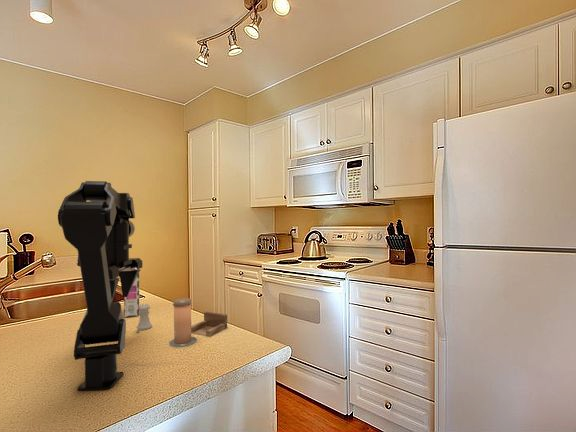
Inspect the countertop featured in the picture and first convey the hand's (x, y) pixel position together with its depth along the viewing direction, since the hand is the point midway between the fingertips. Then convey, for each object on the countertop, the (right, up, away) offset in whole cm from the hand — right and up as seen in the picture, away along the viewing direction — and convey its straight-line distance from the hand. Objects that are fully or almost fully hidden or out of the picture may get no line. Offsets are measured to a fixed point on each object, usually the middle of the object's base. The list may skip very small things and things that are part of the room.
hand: (117, 301), depth 84 cm
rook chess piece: (0, -13, +15) cm, 20 cm away
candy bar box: (-13, -14, +34) cm, 39 cm away
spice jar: (+16, -12, +3) cm, 20 cm away
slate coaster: (+16, -13, +3) cm, 21 cm away
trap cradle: (+21, -13, +12) cm, 27 cm away
